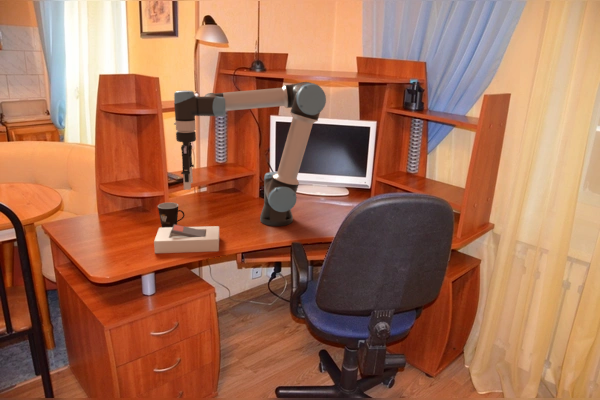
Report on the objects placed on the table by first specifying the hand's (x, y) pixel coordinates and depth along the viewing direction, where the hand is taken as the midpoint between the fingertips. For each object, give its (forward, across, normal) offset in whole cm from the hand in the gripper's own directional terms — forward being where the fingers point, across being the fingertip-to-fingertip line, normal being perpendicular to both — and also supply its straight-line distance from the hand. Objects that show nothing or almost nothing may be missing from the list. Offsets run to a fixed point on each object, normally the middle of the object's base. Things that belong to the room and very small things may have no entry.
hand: (188, 185), depth 181 cm
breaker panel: (+21, +11, 0) cm, 24 cm away
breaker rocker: (+16, +11, 0) cm, 20 cm away
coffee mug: (+22, -8, -9) cm, 25 cm away
